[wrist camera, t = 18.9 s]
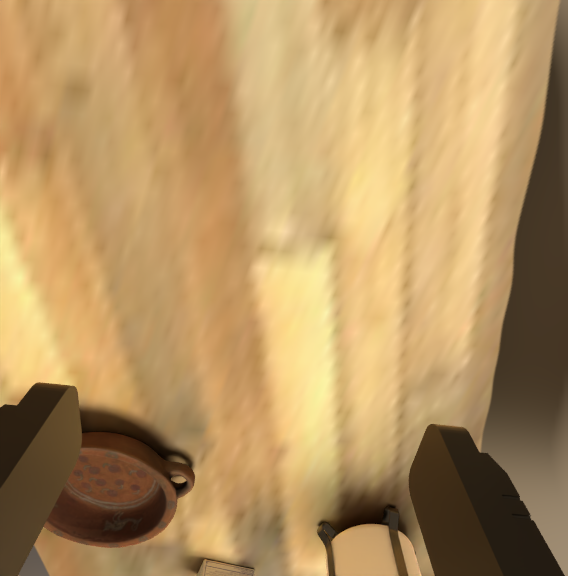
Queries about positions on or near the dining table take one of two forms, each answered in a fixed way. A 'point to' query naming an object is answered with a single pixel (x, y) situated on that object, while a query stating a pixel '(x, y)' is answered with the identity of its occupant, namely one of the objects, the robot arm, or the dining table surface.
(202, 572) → the medicine box
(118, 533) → the dish
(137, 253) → the dining table surface
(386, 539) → the coffee press
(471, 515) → the robot arm
